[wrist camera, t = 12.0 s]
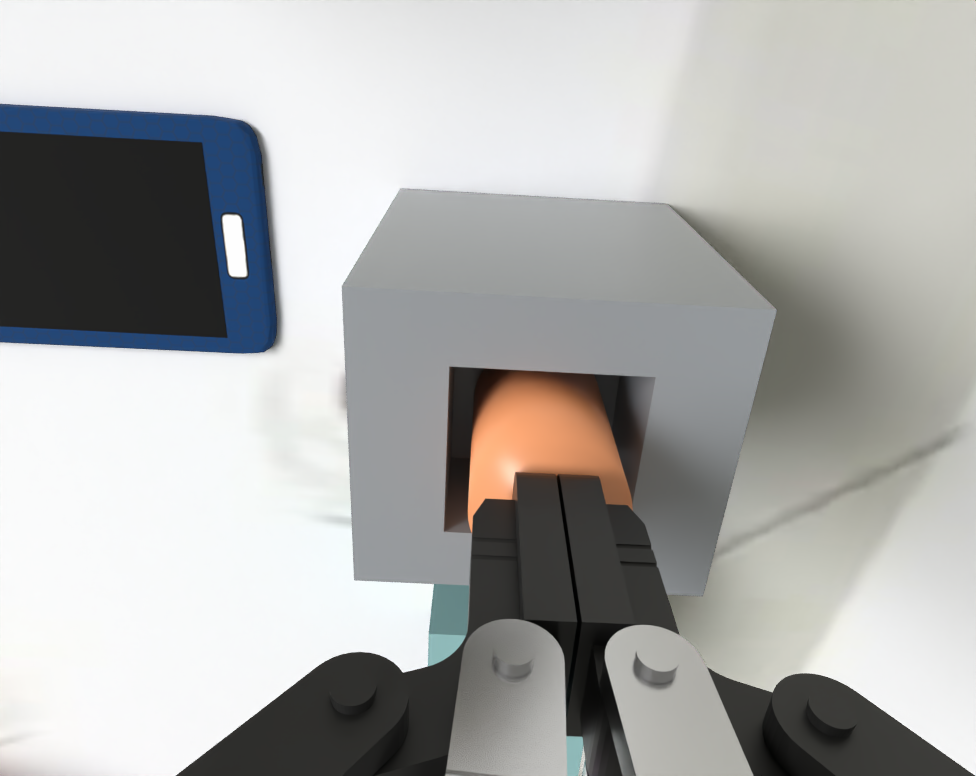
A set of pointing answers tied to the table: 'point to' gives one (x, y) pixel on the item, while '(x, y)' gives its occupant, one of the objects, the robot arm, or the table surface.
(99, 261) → the cell phone
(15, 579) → the table surface
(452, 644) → the block
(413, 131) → the table surface
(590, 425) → the gauge button
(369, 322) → the cabinet
